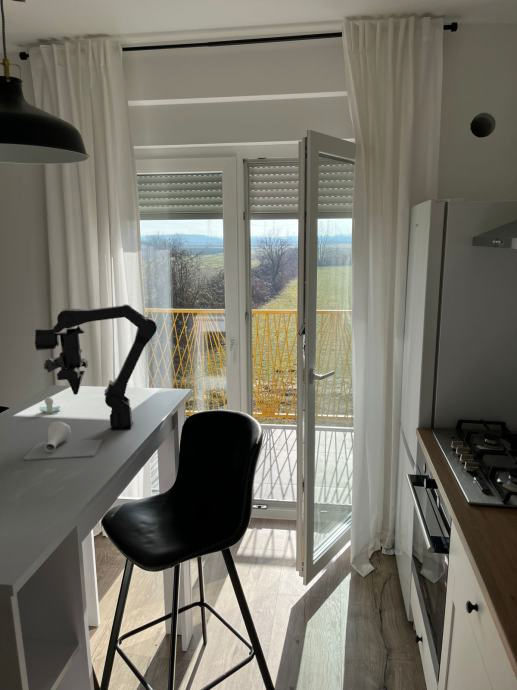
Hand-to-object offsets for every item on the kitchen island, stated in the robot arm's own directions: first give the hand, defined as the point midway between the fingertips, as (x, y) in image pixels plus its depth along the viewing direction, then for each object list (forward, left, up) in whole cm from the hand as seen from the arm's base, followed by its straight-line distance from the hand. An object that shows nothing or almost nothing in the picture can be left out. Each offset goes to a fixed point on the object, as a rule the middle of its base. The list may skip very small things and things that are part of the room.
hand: (75, 394), depth 175 cm
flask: (+3, +9, -9) cm, 13 cm away
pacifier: (+16, -24, -13) cm, 32 cm away
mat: (0, +17, -13) cm, 21 cm away
